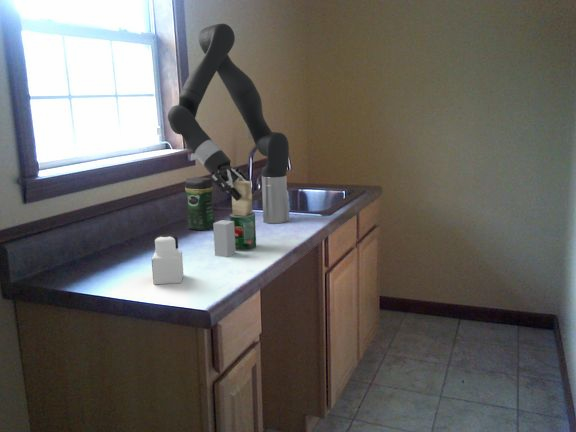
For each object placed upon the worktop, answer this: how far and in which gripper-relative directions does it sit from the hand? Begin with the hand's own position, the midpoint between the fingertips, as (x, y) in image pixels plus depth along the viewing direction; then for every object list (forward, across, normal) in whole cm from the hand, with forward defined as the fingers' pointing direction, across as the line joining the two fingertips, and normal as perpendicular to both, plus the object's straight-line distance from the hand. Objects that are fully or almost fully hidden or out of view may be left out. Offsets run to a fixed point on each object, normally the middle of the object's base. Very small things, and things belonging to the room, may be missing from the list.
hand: (246, 196), depth 179 cm
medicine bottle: (+9, -35, +14) cm, 39 cm away
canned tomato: (+11, 0, +13) cm, 17 cm away
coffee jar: (-9, +17, +33) cm, 38 cm away
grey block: (+10, -8, +14) cm, 19 cm away
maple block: (+3, 0, +5) cm, 6 cm away
